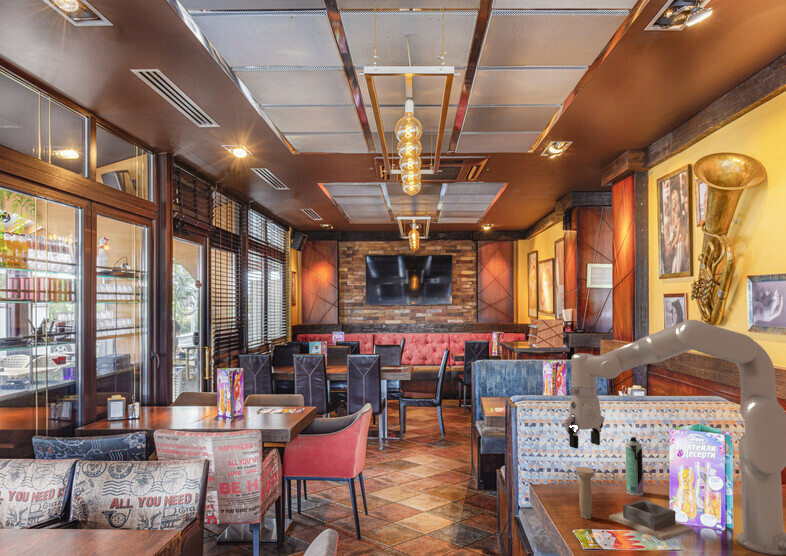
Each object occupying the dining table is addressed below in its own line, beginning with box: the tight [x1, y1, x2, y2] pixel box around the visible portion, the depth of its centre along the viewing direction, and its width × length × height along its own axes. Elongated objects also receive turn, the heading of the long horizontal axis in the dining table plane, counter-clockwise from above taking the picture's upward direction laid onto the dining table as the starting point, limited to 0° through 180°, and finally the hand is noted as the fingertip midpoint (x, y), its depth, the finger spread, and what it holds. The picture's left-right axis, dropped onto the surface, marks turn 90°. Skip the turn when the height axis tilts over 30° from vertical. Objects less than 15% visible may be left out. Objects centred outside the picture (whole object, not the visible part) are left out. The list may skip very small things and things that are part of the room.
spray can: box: [625, 436, 644, 497], centre depth 194 cm, size 6×6×20 cm
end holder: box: [608, 499, 692, 541], centre depth 165 cm, size 18×14×5 cm
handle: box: [575, 466, 595, 520], centre depth 171 cm, size 5×6×15 cm
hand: (584, 445), depth 172 cm, fingers open, 9 cm apart
